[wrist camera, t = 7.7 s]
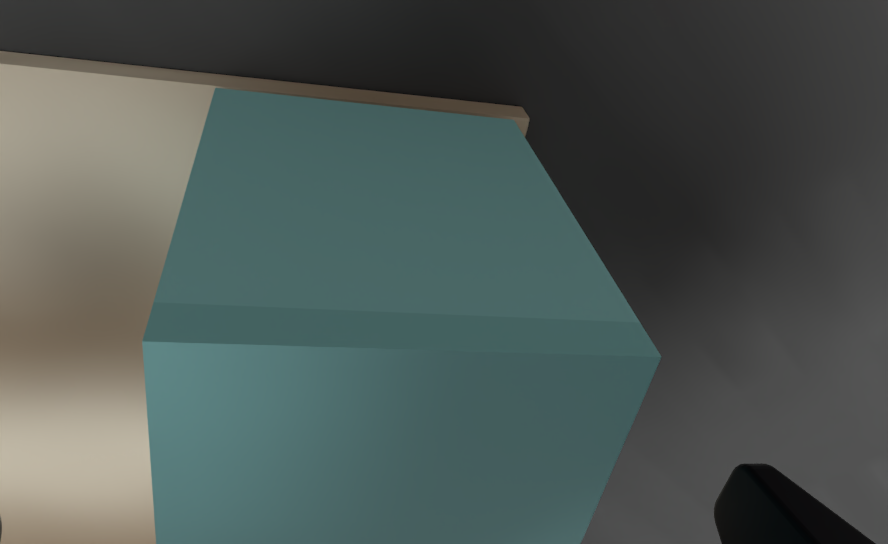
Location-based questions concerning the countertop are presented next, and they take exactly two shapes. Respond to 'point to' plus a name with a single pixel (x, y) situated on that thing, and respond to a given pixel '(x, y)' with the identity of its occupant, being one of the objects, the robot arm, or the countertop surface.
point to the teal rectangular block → (381, 336)
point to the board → (99, 276)
